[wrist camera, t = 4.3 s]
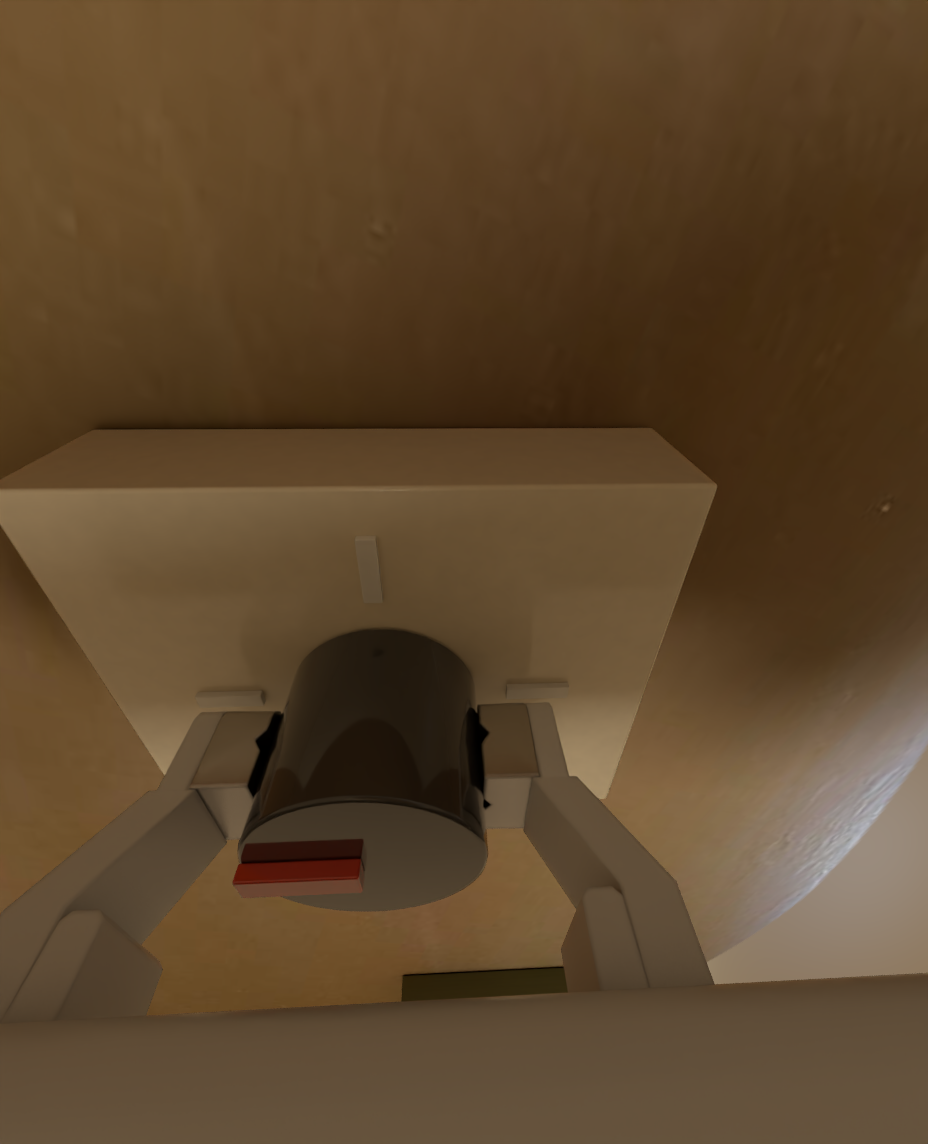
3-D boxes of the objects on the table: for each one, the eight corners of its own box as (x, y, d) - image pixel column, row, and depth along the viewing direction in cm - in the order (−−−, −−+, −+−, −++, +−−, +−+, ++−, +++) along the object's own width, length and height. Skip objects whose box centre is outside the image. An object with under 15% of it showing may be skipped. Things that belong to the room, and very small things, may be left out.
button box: (574, 966, 32) (591, 1059, 29) (556, 1005, 38) (568, 1086, 34) (402, 975, 32) (397, 1070, 28) (410, 1013, 38) (407, 1096, 34)
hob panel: (653, 426, 10) (725, 488, 8) (581, 714, 16) (608, 805, 13) (91, 428, 10) (-35, 495, 7) (228, 724, 15) (185, 821, 13)
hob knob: (477, 624, 9) (496, 816, 6) (473, 744, 12) (485, 926, 8) (275, 629, 9) (189, 828, 6) (312, 749, 11) (264, 937, 8)
